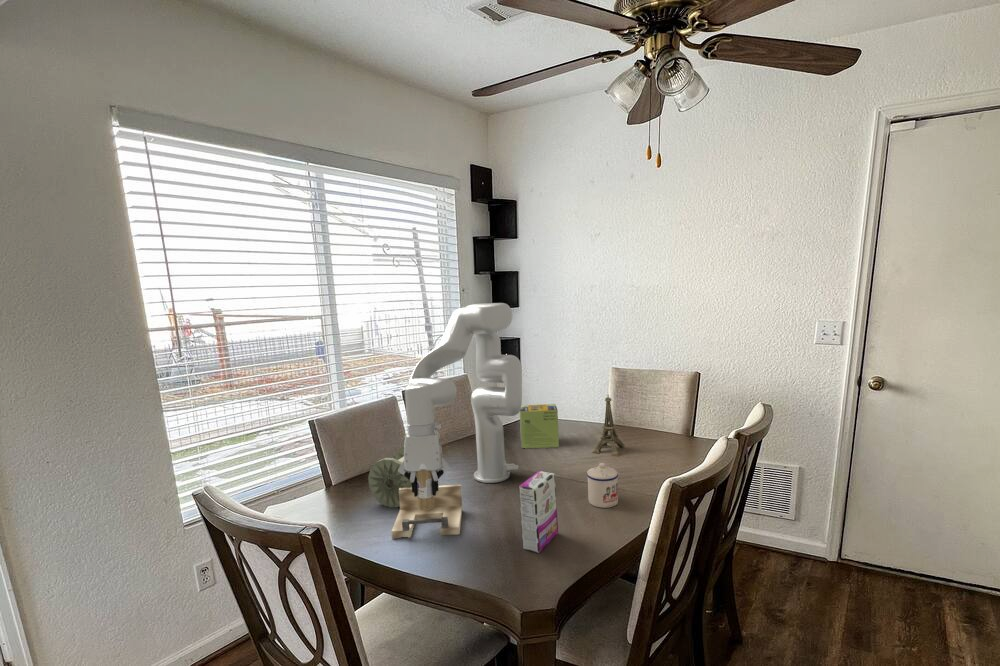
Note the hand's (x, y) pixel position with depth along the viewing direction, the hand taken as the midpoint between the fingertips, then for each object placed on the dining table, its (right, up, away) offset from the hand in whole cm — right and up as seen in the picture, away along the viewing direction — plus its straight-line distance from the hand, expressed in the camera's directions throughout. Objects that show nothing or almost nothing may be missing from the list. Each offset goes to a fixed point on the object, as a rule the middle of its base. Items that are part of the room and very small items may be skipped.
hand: (425, 493), depth 133 cm
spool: (-10, -9, +23) cm, 26 cm away
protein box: (+37, -2, +67) cm, 77 cm away
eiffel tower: (+63, -2, +55) cm, 84 cm away
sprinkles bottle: (0, -4, 0) cm, 4 cm away
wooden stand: (0, -10, +3) cm, 10 cm away
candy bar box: (+31, -9, -9) cm, 33 cm away
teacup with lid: (+52, -6, +12) cm, 54 cm away
